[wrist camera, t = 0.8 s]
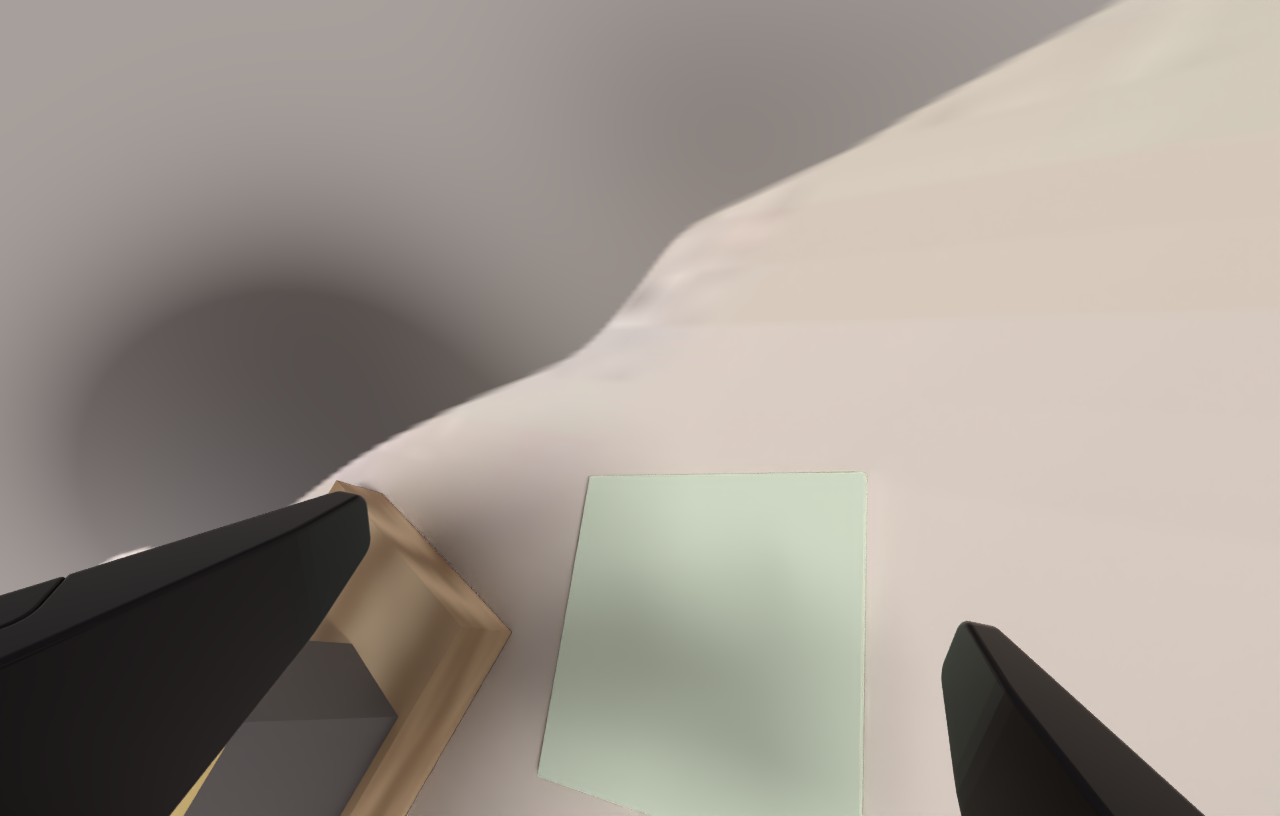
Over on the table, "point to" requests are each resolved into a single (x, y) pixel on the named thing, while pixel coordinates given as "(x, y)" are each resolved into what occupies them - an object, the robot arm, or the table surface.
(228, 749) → the black box
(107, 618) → the robot arm
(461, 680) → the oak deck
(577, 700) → the felt mat
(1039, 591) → the table surface
